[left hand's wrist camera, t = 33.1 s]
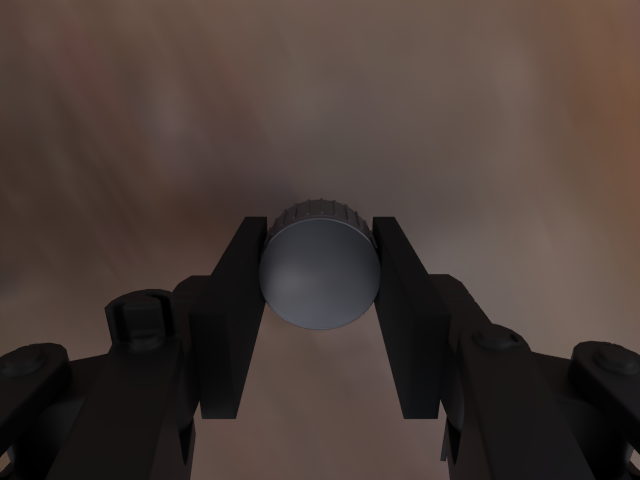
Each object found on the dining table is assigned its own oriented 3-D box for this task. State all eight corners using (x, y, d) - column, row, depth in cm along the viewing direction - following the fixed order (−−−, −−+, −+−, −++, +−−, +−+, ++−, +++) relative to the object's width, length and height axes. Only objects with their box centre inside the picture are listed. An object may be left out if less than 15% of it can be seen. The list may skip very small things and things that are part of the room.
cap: (386, 282, 15) (397, 313, 13) (286, 310, 15) (281, 344, 13) (357, 183, 13) (364, 199, 11) (248, 216, 14) (236, 238, 12)
